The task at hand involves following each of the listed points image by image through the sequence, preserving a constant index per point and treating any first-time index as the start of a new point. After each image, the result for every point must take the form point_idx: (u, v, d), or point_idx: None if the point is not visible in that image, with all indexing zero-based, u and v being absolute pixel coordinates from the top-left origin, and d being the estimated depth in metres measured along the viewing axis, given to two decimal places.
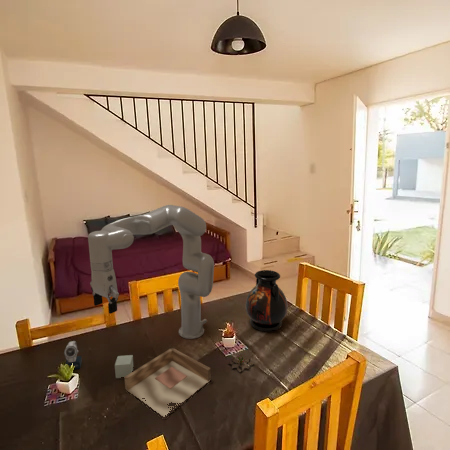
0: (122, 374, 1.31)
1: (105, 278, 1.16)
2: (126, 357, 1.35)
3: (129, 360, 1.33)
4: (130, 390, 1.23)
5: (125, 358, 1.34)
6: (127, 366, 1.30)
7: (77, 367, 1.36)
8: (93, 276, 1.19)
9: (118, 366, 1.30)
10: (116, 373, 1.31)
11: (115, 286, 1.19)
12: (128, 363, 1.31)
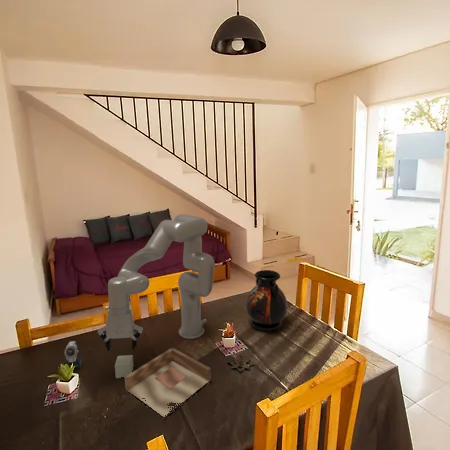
0: (122, 374, 1.31)
1: None
2: (126, 357, 1.35)
3: (129, 360, 1.33)
4: (130, 390, 1.23)
5: (125, 358, 1.34)
6: (127, 366, 1.30)
7: (77, 367, 1.36)
8: None
9: (118, 366, 1.30)
10: (116, 373, 1.31)
11: (106, 329, 1.27)
12: (128, 363, 1.31)
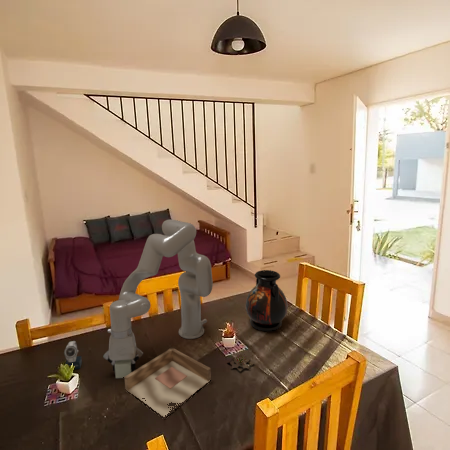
0: (122, 374, 1.31)
1: None
2: None
3: (129, 360, 1.33)
4: (130, 390, 1.23)
5: None
6: (127, 365, 1.30)
7: (77, 367, 1.36)
8: None
9: (118, 366, 1.30)
10: (116, 373, 1.30)
11: (109, 351, 1.29)
12: (128, 363, 1.31)
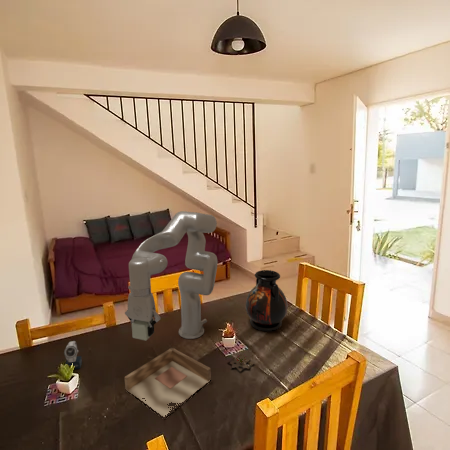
0: (138, 335, 1.25)
1: None
2: None
3: None
4: (130, 390, 1.23)
5: None
6: (143, 327, 1.24)
7: (77, 367, 1.36)
8: None
9: (134, 325, 1.25)
10: (133, 332, 1.26)
11: None
12: (144, 325, 1.24)
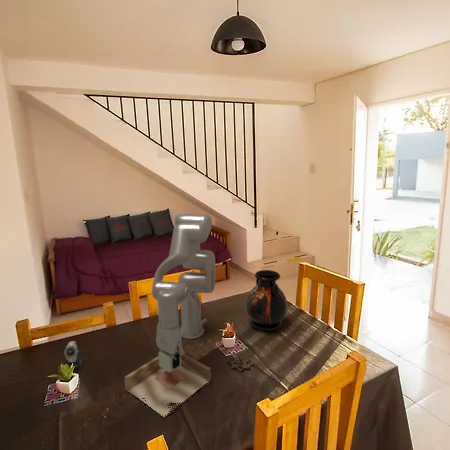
0: (163, 365, 1.26)
1: None
2: None
3: None
4: (130, 390, 1.23)
5: None
6: (167, 359, 1.24)
7: (77, 367, 1.36)
8: None
9: (161, 355, 1.26)
10: (159, 361, 1.27)
11: None
12: (168, 357, 1.24)
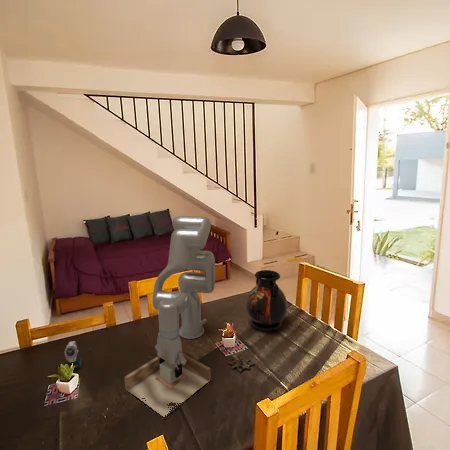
0: (164, 377, 1.27)
1: None
2: None
3: (173, 366, 1.27)
4: (130, 390, 1.23)
5: None
6: (168, 371, 1.25)
7: (77, 367, 1.36)
8: None
9: (161, 367, 1.27)
10: (160, 373, 1.29)
11: None
12: (169, 369, 1.25)
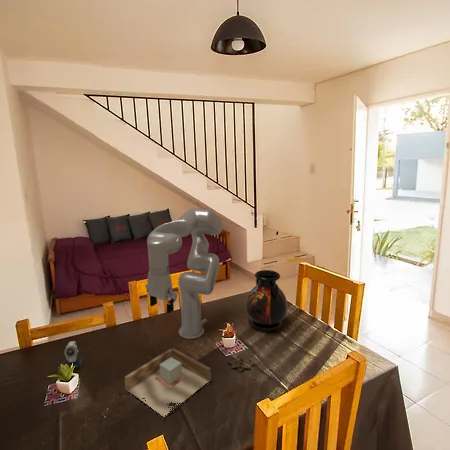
0: (164, 377, 1.27)
1: None
2: (175, 362, 1.30)
3: (173, 366, 1.27)
4: (130, 390, 1.23)
5: (173, 363, 1.29)
6: (168, 371, 1.25)
7: (77, 367, 1.36)
8: None
9: (161, 367, 1.27)
10: (160, 373, 1.29)
11: None
12: (169, 369, 1.25)
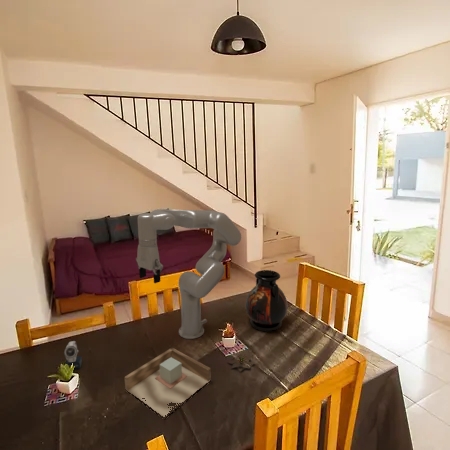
0: (164, 377, 1.27)
1: None
2: (175, 362, 1.30)
3: (173, 366, 1.27)
4: (130, 390, 1.23)
5: (173, 363, 1.29)
6: (168, 371, 1.25)
7: (77, 367, 1.36)
8: None
9: (161, 367, 1.27)
10: (160, 373, 1.29)
11: None
12: (169, 369, 1.25)
